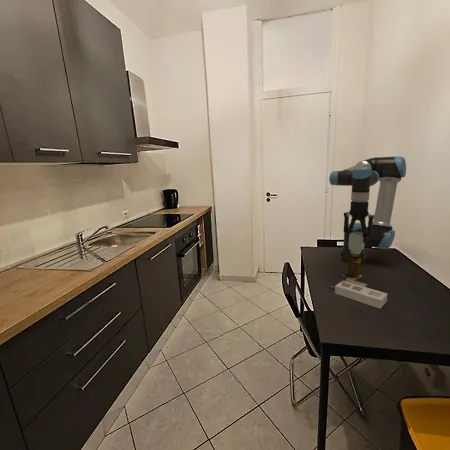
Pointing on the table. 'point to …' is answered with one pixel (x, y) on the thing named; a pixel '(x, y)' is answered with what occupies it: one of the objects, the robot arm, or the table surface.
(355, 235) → the block
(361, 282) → the cork coaster
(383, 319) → the table surface
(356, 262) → the condiment
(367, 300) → the power strip
